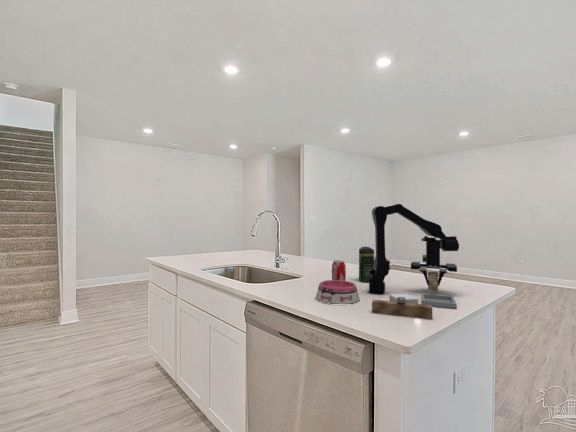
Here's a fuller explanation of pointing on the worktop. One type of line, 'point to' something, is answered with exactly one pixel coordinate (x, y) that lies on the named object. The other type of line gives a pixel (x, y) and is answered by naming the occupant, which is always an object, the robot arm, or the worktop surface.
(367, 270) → the coffee jar
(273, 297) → the worktop surface
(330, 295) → the dog bowl
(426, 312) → the stop rail
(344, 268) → the soda can
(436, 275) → the dowel
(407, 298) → the small box
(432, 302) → the tray
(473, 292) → the worktop surface
